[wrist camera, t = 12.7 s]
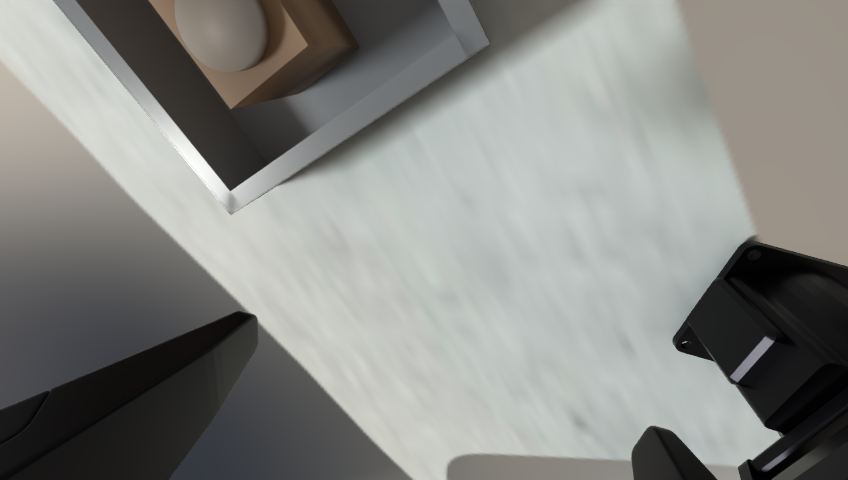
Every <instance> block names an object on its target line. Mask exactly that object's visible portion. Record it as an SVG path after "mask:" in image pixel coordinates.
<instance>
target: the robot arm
mask: <svg viewBox="0 0 848 480" xmlns="http://www.w3.org/2000/svg"><path fill="white" fill-rule="evenodd" d="M753 250H755V253H753V254H752V255H750V256H748V253H750V252H751V251H753ZM672 341H673V344H674V346H675V347H676V349H677V350H678V351H680V352H683V353H686V354H690V355H693V356H697V357H700V358H704V359H707V360H711V361H714V362H715V363H716V364H717V365H718V367H719V368H720V370H721V371H722V373H723V374H724V375H725V377H726V378H727V380H728V381H729V382H730V383H731V384H734V385H735V386H736V387H737V388H738V390H739V391H740V393H741V394H742V395H743V397H744V398H745V400H746V401H747V402H748V404H749V405H750V407H751V408H752V409H753V411H754V412H755V413H756V415H757V416H758V418H759V419H760V420H761V422H762V423H763V425H764V426H765V427H766V428H768V429H772V430H775V431H777V432H778V434H779V435H780V436H781V438H780V439H779V440H777V441H776V442H775V443H773V444H772V445H771V446H770V447H768V448H767V449H766V450H764V451H763V452H762V453H761V454H759V455H758V456H757V457H755V458H754V459H753V460H750V459H748V460H746V461H745V462H744V463H743V464H741V465H740V466H739V467H738V470H739V474H740V478H741V480H848V267H847V266H844V265H840V264H837V263H833V262H829V261H825V260H822V259H818V258H815V257H811V256H807V255H804V254H800V253H796V252H793V251H789V250H785V249H782V248H778V247H774V246H771V245H767V244H763V243H760V242H756V241H749V242H745V243H743V244H741V245H740V246H739V247H738V248H737V250H736V251H735V253H734V254H733V255H732V257H731V258H730V260H729V261H728V262H727V264H726V265H725V266H724V268H723V269H722V271H721V272H720V273H719V275H718V276H717V278H716V279H715V280H714V281H713V282H712V284H711V285H710V286H709V288H708V289H707V291H706V292H705V293H704V295H703V296H702V298H701V299H700V300H699V302H698V303H697V305H696V306H695V307H694V309H693V310H692V311H691V313H690V314H689V316H688V317H687V319H686V320H685V322H684V323H683V325H682V326H681V327H680V329H679V330H678V332H677V333H676V334H675V336H674V337H673V340H672ZM685 341H688V342H686V343H683V342H685ZM682 343H683V344H682ZM257 345H258V320H257V317H256V315H254V314H251V313H247V312H243V311H237V312H234V313H232V314H229V315H227V316H224V317H222V318H220V319H217V320H215V321H212V322H210V323H208V324H205V325H203V326H200V327H198V328H196V329H194V330H191V331H189V332H186V333H184V334H181V335H179V336H176V337H174V338H172V339H169V340H167V341H165V342H162V343H160V344H157V345H155V346H153V347H150V348H148V349H145V350H143V351H141V352H138V353H136V354H133V355H131V356H128V357H126V358H124V359H121V360H119V361H116V362H114V363H112V364H109V365H107V366H105V367H102V368H100V369H98V370H95V371H92V372H90V373H88V374H85V375H83V376H81V377H78V378H76V379H73V380H71V381H69V382H66V383H64V384H61V385H59V386H56V387H54V388H52V389H51V391H44V392H42V393H40V394H37V395H35V396H32V397H30V398H27V399H25V400H23V401H20V402H18V403H15V404H13V405H10V406H8V407H5V408H3V409H0V480H169V479H170V477H171V476H172V474H173V473H174V472H175V470H176V469H177V468H178V466H179V465H180V464H181V462H182V461H183V460H184V458H185V457H186V455H187V454H188V453H189V451H190V450H191V449H192V447H193V446H194V445H195V443H196V442H197V441H198V439H199V438H200V437H201V435H202V434H203V432H204V431H205V430H206V428H207V427H208V426H209V424H210V423H211V422H212V420H213V419H214V418H215V416H216V415H217V413H218V412H219V410H220V409H221V407H222V406H223V404H224V402H225V401H226V399H227V398H228V396H229V394H230V393H231V391H232V389H233V388H234V386H235V384H236V383H237V381H238V379H239V378H240V376H241V374H242V372H243V371H244V369H245V367H246V365H247V364H248V362H249V361H250V359H251V357H252V356H253V354H254V352H255V350H256V348H257ZM632 468H633V476H634V480H717V479H716V478H715V477H714V475H713V474H712V473H711V472H710V471H709V470H708V469H707V468H706V467H705V466H704V465H703V464H702V462H701V461H700V460H699V459H698V458H697V457H696V456H695V455H694V454H693V453H692V452H691V451H690V449H689V448H688V447H687V446H686V445H685V444H684V443H683V442H682V441H681V440H680V439H679V438H678V437H677V435H676V434H674V433H673V432H672V431H670V430H667V429H664V428H660V427H657V426H650V427H648V428H647V429H646V431H645V432H644V433H643V435H642V436H641V438H640V439H639V441H638V442H637V444H636V445H635V446H634V448H633V451H632Z"/></svg>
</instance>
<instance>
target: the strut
mask: <svg viewBox="0 0 848 480" xmlns="http://www.w3.org/2000/svg"><path fill="white" fill-rule="evenodd" d="M149 2H150V3H151V4H152V5H153V7H154V8H155V9H156V11H157V12H158V13H159V15H160V16H161V17H162V19H163V20H164V21H165V23H166V24H167V25H168V27H169V28H170V29H171V31H172V32H173V33H174V35H175V36H176V37H177V39H178V40H179V41H180V43H181V44H182V45H183V47H184V48H185V49H186V51H187V52H188V53H189V55H190V56H191V57H192V59H193V60H194V61H195V63H196V64H197V65H198V67H199V68H200V69H201V71H202V72H203V73H204V75H205V76H206V77H207V79H208V80H209V81H210V83H211V84H212V85H213V87H214V88H215V89H216V90H217V92H218V93H219V94H220V96H221V97H222V98H223V100H224V101H225V102H226V104H227V105H228V106H229V108H230V109H234V108H239V107H243V106H248V105H252V104H257V103H261V102H265V101H270V100H274V99H279V98H283V97H288V96H292V95H297V94H299V93H300V92H302V91H303V90H304V89H306V88H307V87H308V86H310V85H311V84H312V83H313V82H315V81H316V80H317V79H319V78H320V77H321V76H322V75H324V74H325V73H326V72H328V71H329V70H330V69H332V68H333V67H334V66H335V65H337V64H338V63H339V62H341V61H342V60H343V59H344V58H346V57H347V56H348V55H350V54H351V53H352V52H354V51H355V50H356V49H357V48H359V47H360V46H359V44H358V43H357V41H356V39H355V38H354V36H353V34H352V33H351V31H350V29H349V28H348V26H347V24H346V23H345V21H344V19H343V18H342V16H341V15H340V13H339V11H338V10H337V8H336V6H335V5H334V3H333V1H332V0H149Z"/></svg>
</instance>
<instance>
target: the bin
mask: <svg viewBox="0 0 848 480" xmlns="http://www.w3.org/2000/svg"><path fill="white" fill-rule="evenodd" d="M53 1H54V2H55V4H56V5H57V6H58V7H59V8H60V10H61V11H62V12H63V13H64V14H65V16H66V17H67V18H68V19H69V20H70V22H71V23H72V24H73V25H74V26H75V28H76V29H77V30H78V31H79V33H80V34H81V35H82V36H83V37H84V39H85V40H86V41H87V42H88V43H89V45H90V46H91V47H92V48H93V49H94V51H95V52H96V53H97V54H98V55H99V57H100V58H101V59H102V60H103V62H104V63H105V64H106V65H107V66H108V68H109V69H110V70H111V71H112V72H113V74H114V75H115V76H116V77H117V78H118V80H119V81H120V82H121V83H122V84H123V86H124V87H125V88H126V89H127V91H128V92H129V93H130V94H131V95H132V97H133V98H134V99H135V100H136V101H137V103H138V104H139V105H140V106H141V107H142V109H143V110H144V111H145V112H146V113H147V115H148V116H149V117H150V118H151V120H152V121H153V122H154V123H155V124H156V126H157V127H158V128H159V129H160V130H161V132H162V133H163V134H164V135H165V136H166V138H167V139H168V140H169V141H170V142H171V144H172V145H173V146H174V147H175V149H176V150H177V151H178V152H179V153H180V155H181V156H182V157H183V158H184V159H185V161H186V162H187V163H188V164H189V165H190V167H191V168H192V169H193V170H194V171H195V173H196V174H197V175H198V176H199V178H200V179H201V180H202V181H203V182H204V184H205V185H206V186H207V187H208V188H209V190H210V191H211V192H212V193H213V194H214V196H215V197H216V198H217V199H218V200H219V202H220V203H221V204H222V205H223V207H224V208H225V209H226V210H227V211H228V213H229V214H230V215H232V214H233V213H235V212H236V211H238V210H240V209H241V208H243V207H244V206H246V205H248V204H249V203H251V202H252V201H254V200H256V199H257V198H259V197H260V196H262V195H264V194H265V193H267V192H268V191H270V190H272V189H273V188H275V187H276V186H278V185H279V184H281V183H282V182H284V181H285V180H287V179H288V178H290V177H291V176H293V175H294V174H296V173H297V172H299V171H300V170H302V169H303V168H305V167H306V166H308V165H309V164H311V163H312V162H314V161H315V160H317V159H318V158H320V157H322V156H323V155H325V154H326V153H328V152H329V151H331V150H332V149H334V148H335V147H337V146H338V145H340V144H341V143H343V142H344V141H346V140H347V139H349V138H350V137H352V136H353V135H355V134H356V133H358V132H359V131H361V130H362V129H364V128H365V127H367V126H368V125H370V124H371V123H373V122H374V121H376V120H377V119H379V118H380V117H382V116H383V115H385V114H386V113H388V112H389V111H391V110H392V109H394V108H395V107H397V106H398V105H400V104H401V103H403V102H404V101H406V100H407V99H409V98H410V97H412V96H413V95H415V94H416V93H418V92H419V91H421V90H422V89H424V88H425V87H427V86H428V85H430V84H431V83H433V82H434V81H436V80H437V79H439V78H440V77H442V76H443V75H445V74H447V73H448V72H450V71H451V70H453V69H454V68H456V67H457V66H459V65H460V64H462V63H463V62H465V61H466V60H468V59H469V58H471V57H472V56H474V55H475V54H477V53H478V52H480V51H481V50H483V49H484V48H486V47H487V46H489V45H490V42H489V40H488V38H487V36H486V34H485V32H484V30H483V28H482V26H481V24H480V22H479V20H478V18H477V16H476V14H475V12H474V9H473V7H472V5H471V3H470V1H469V0H332V1H333V3H334V5H335V6H336V8H337V10H338V11H339V13H340V15H341V16H342V18H343V19H344V21H345V23H346V24H347V26H348V28H349V29H350V31H351V33H352V34H353V36H354V38H355V39H356V41H357V43H358V44H359V46H360V47H359V48H357V49H356V50H355V51H354V52H352V53H351V54H350V55H348V56H347V57H346V58H344V59H343V60H342V61H341V62H339V63H338V64H337V65H335V66H334V67H333V68H332V69H330V70H329V71H328V72H326V73H325V74H324V75H322V76H321V77H320V78H319V79H317V80H316V81H315V82H313V83H312V84H311V85H310V86H308V87H307V88H306V89H304V90H303V91H302V92H300V93H299V94H297V95H292V96H288V97H283V98H279V99H274V100H270V101H265V102H261V103H257V104H252V105H248V106H243V107H239V108H234V109H230V108H229V106H228V105H227V104H226V102H225V101H224V100H223V98H222V97H221V96H220V94H219V93H218V92H217V90H216V89H215V88H214V87H213V85H212V84H211V83H210V81H209V80H208V79H207V77H206V76H205V75H204V73H203V72H202V71H201V69H200V68H199V67H198V65H197V64H196V63H195V61H194V60H193V59H192V57H191V56H190V55H189V53H188V52H187V51H186V49H185V48H184V47H183V45H182V44H181V43H180V41H179V40H178V39H177V37H176V36H175V35H174V33H173V32H172V31H171V29H170V28H169V27H168V25H167V24H166V23H165V21H164V20H163V19H162V17H161V16H160V15H159V13H158V12H157V11H156V9H155V8H154V7H153V5H152V4H151V3H150V2H149V0H53Z"/></svg>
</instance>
